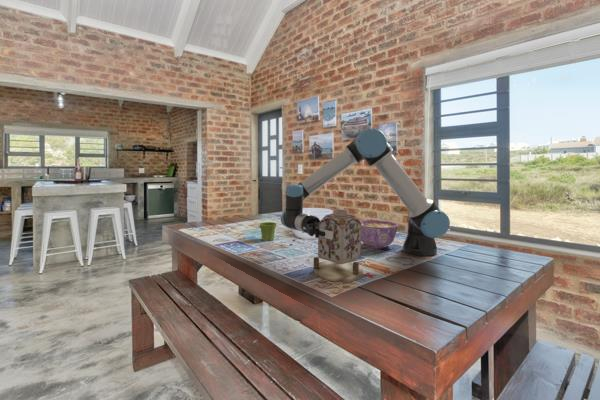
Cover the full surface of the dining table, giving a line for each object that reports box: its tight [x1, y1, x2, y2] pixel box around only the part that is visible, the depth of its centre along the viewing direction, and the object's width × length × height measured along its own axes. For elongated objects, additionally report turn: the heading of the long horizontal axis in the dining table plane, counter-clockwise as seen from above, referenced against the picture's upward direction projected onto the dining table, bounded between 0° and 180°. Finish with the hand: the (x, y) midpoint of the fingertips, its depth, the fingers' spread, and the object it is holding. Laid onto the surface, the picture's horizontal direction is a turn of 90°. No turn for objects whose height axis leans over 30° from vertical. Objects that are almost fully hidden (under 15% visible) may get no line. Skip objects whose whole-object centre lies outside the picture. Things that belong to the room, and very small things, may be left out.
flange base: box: [312, 256, 364, 283], centre depth 120 cm, size 18×18×6 cm
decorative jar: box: [317, 209, 362, 264], centre depth 118 cm, size 12×12×18 cm
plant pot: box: [258, 221, 278, 242], centre depth 171 cm, size 9×9×9 cm
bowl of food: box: [359, 219, 399, 249], centre depth 159 cm, size 20×20×12 cm
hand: (345, 233), depth 116 cm, fingers closed on decorative jar, 12 cm apart
